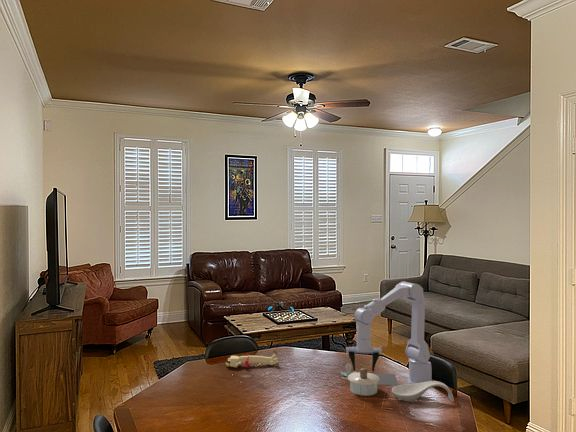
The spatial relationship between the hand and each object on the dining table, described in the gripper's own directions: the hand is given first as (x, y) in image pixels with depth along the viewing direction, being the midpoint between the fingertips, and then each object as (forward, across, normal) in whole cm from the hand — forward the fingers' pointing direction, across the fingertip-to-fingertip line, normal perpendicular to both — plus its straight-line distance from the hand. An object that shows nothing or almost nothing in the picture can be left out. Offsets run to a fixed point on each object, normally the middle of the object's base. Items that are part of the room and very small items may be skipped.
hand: (363, 370), depth 194 cm
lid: (+4, 0, 0) cm, 4 cm away
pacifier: (+9, +6, -16) cm, 19 cm away
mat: (+9, -8, -14) cm, 18 cm away
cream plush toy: (+9, +52, -27) cm, 59 cm away
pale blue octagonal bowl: (+9, 0, 0) cm, 9 cm away
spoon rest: (+9, -23, +6) cm, 25 cm away
